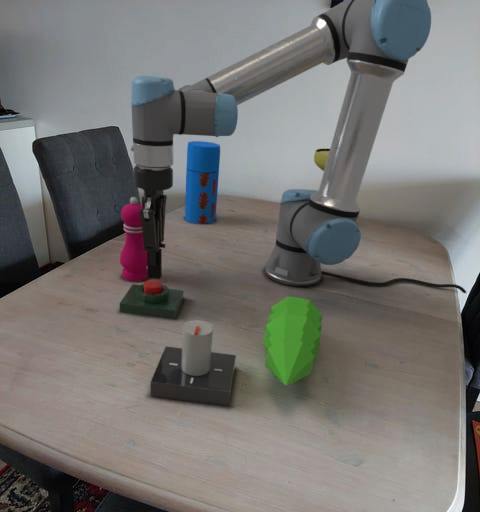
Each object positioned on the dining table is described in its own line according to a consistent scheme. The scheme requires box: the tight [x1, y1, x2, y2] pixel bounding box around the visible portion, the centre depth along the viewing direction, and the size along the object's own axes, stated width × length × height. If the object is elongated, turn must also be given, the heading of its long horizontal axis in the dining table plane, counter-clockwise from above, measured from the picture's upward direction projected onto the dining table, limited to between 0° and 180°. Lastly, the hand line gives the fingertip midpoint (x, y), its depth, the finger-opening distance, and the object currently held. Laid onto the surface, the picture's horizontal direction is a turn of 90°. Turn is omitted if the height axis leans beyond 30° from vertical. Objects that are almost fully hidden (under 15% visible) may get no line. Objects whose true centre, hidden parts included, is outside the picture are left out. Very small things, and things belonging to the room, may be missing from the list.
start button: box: [143, 279, 163, 294], centre depth 103 cm, size 4×4×2 cm
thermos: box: [184, 140, 221, 225], centre depth 158 cm, size 11×11×25 cm
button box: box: [119, 283, 185, 320], centre depth 104 cm, size 12×10×4 cm
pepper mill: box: [119, 196, 148, 282], centre depth 113 cm, size 7×7×20 cm
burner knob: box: [181, 319, 214, 376], centre depth 79 cm, size 5×5×8 cm
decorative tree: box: [262, 295, 323, 386], centre depth 87 cm, size 11×12×30 cm
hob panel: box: [150, 346, 237, 407], centre depth 82 cm, size 13×11×3 cm
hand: (154, 277), depth 102 cm, fingers closed
